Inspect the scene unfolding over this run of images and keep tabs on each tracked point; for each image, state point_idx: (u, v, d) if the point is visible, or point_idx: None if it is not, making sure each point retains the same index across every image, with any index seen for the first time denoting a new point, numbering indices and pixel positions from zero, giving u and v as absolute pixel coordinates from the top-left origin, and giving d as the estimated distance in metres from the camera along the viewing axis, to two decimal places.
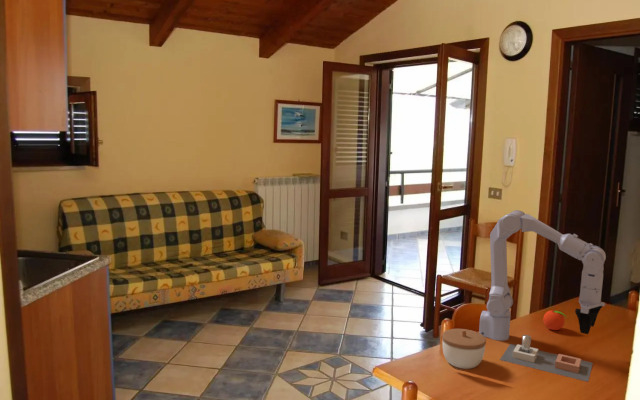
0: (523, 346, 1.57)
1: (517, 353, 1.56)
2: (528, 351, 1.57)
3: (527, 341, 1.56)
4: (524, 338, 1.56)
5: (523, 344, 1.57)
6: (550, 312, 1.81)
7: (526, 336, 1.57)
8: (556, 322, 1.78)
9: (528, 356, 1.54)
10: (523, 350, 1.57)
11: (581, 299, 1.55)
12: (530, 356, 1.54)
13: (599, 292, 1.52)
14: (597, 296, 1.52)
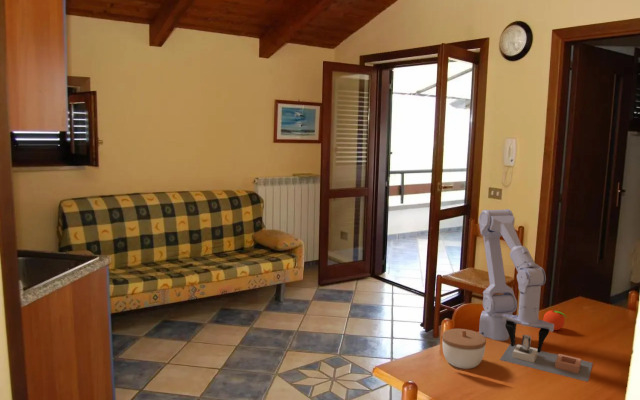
0: (523, 346, 1.57)
1: (517, 353, 1.56)
2: (528, 351, 1.57)
3: (527, 341, 1.56)
4: (524, 338, 1.56)
5: (523, 344, 1.57)
6: (550, 312, 1.81)
7: (526, 336, 1.57)
8: (556, 322, 1.78)
9: (528, 356, 1.54)
10: (523, 350, 1.57)
11: None
12: (530, 356, 1.54)
13: (522, 309, 1.54)
14: (521, 313, 1.55)
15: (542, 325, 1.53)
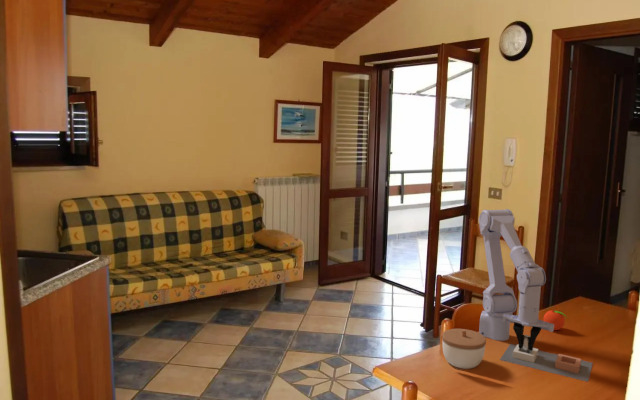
0: (523, 346, 1.57)
1: (517, 353, 1.56)
2: (528, 351, 1.57)
3: (527, 341, 1.56)
4: (524, 338, 1.56)
5: (523, 344, 1.57)
6: (550, 312, 1.81)
7: (526, 336, 1.57)
8: (556, 322, 1.78)
9: (528, 356, 1.54)
10: (523, 350, 1.57)
11: None
12: (530, 356, 1.54)
13: (522, 309, 1.54)
14: (521, 313, 1.55)
15: (542, 325, 1.53)
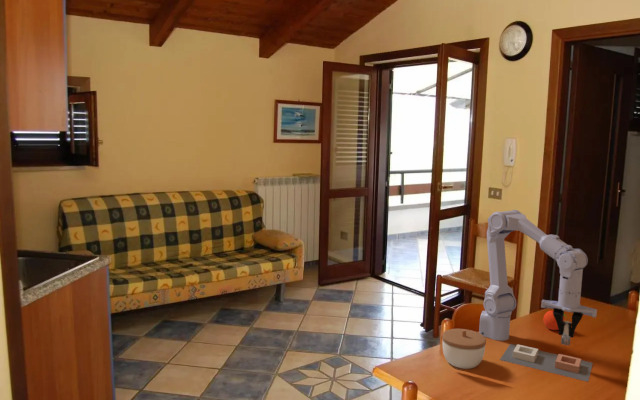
0: (563, 333, 1.50)
1: (517, 353, 1.56)
2: (569, 338, 1.50)
3: (568, 328, 1.49)
4: (564, 324, 1.50)
5: (563, 331, 1.50)
6: (550, 312, 1.81)
7: (566, 322, 1.50)
8: (556, 322, 1.78)
9: (528, 356, 1.54)
10: (563, 337, 1.50)
11: None
12: (530, 356, 1.54)
13: (562, 294, 1.48)
14: (561, 298, 1.48)
15: (584, 310, 1.46)
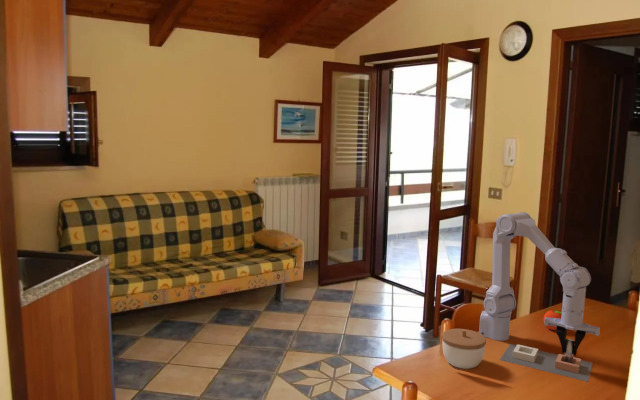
0: (566, 351, 1.50)
1: (517, 353, 1.56)
2: (572, 356, 1.50)
3: (571, 346, 1.49)
4: (568, 342, 1.50)
5: (566, 348, 1.50)
6: (550, 312, 1.81)
7: (570, 340, 1.50)
8: None
9: (528, 356, 1.54)
10: (566, 355, 1.50)
11: None
12: (530, 356, 1.54)
13: (566, 312, 1.48)
14: (565, 316, 1.48)
15: (587, 329, 1.46)
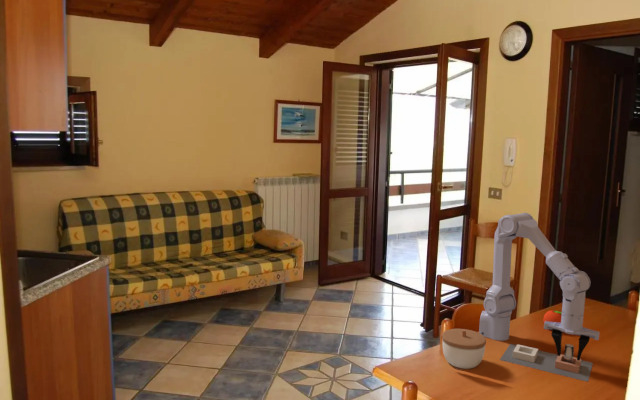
0: (566, 356, 1.50)
1: (517, 353, 1.56)
2: (571, 361, 1.50)
3: (570, 351, 1.50)
4: (567, 348, 1.50)
5: (566, 354, 1.50)
6: (550, 312, 1.81)
7: (569, 345, 1.50)
8: None
9: (528, 356, 1.54)
10: (566, 360, 1.51)
11: None
12: (530, 356, 1.54)
13: (565, 316, 1.48)
14: (564, 320, 1.48)
15: (587, 333, 1.46)
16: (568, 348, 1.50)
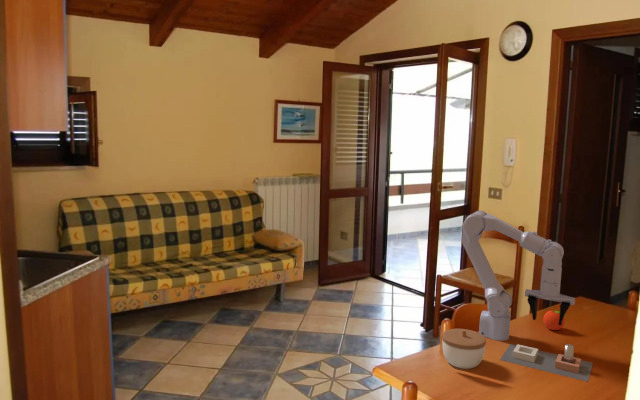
0: (566, 356, 1.50)
1: (517, 353, 1.56)
2: (571, 361, 1.50)
3: (570, 351, 1.50)
4: (567, 348, 1.50)
5: (566, 354, 1.50)
6: (550, 312, 1.81)
7: (569, 345, 1.50)
8: (556, 322, 1.78)
9: (528, 356, 1.54)
10: (566, 360, 1.51)
11: None
12: (530, 356, 1.54)
13: (544, 284, 1.61)
14: (543, 287, 1.62)
15: (563, 299, 1.59)
16: (568, 348, 1.50)
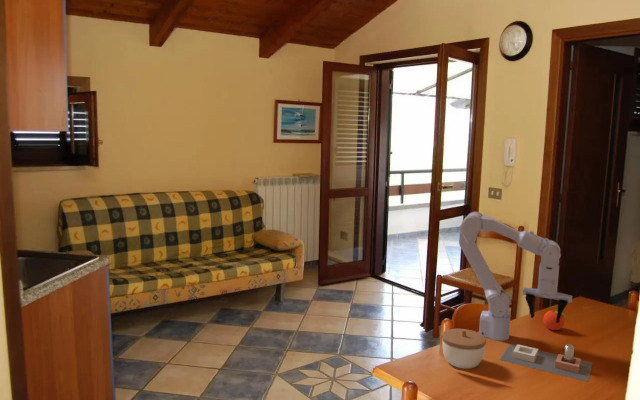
0: (566, 356, 1.50)
1: (517, 353, 1.56)
2: (571, 361, 1.50)
3: (570, 351, 1.50)
4: (567, 347, 1.50)
5: (566, 354, 1.50)
6: (550, 312, 1.81)
7: (569, 345, 1.50)
8: None
9: (528, 356, 1.54)
10: (566, 360, 1.51)
11: None
12: (530, 356, 1.54)
13: (541, 282, 1.63)
14: (540, 286, 1.63)
15: (561, 297, 1.61)
16: (568, 348, 1.50)
